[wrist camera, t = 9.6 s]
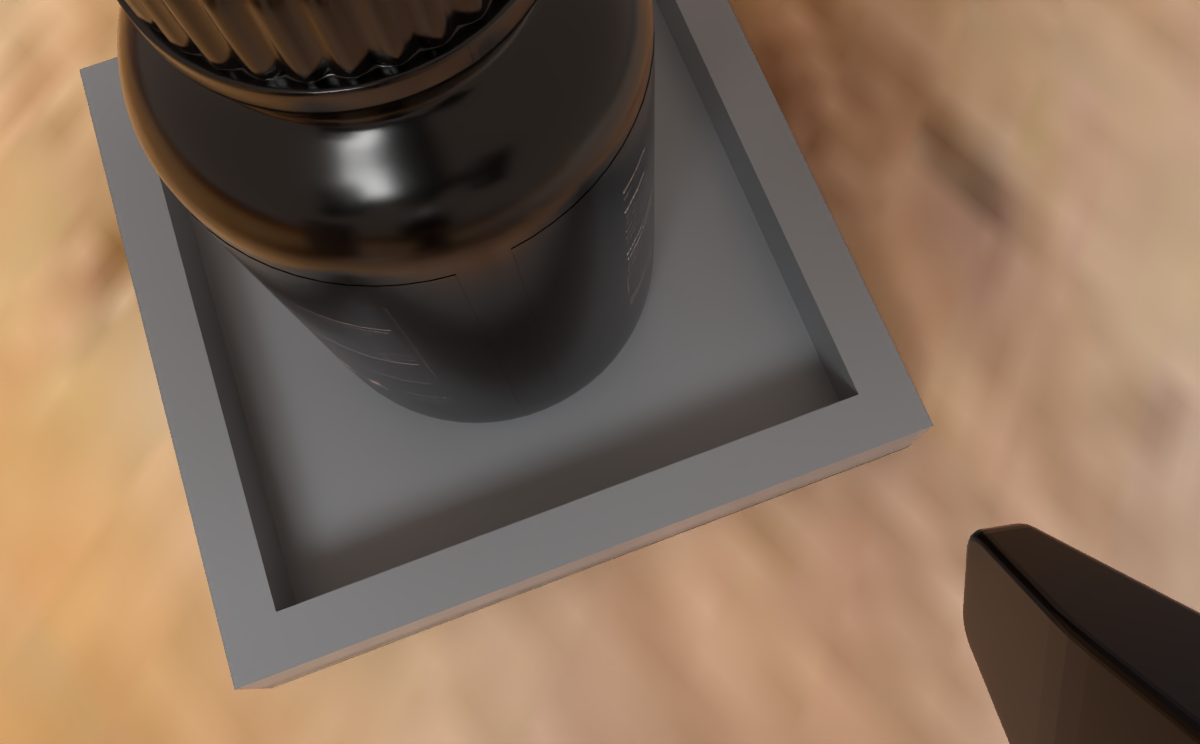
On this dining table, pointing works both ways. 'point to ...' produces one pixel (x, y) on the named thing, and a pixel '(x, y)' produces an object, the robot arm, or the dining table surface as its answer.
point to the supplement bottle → (418, 178)
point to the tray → (527, 444)
